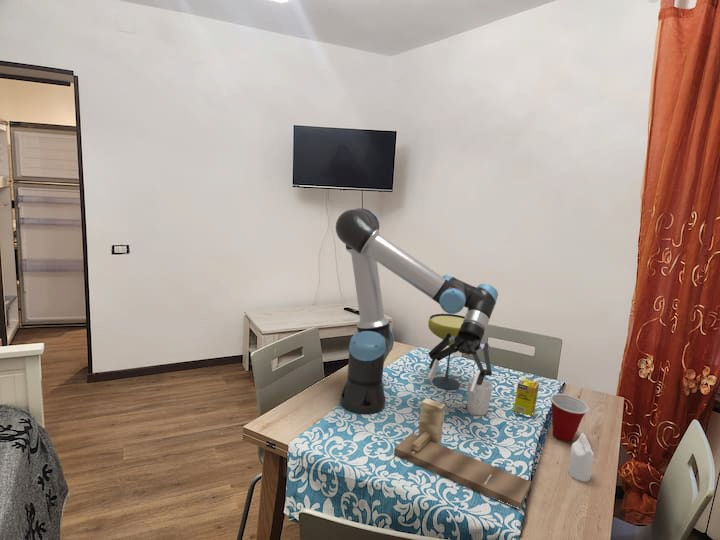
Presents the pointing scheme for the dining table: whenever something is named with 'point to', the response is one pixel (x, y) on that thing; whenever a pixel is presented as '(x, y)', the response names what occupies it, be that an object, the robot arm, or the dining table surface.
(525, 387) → the supplement box
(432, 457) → the walnut board
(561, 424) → the plastic cup
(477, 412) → the white cup
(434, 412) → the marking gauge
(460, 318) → the cocktail glass
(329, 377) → the dining table surface
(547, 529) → the dining table surface
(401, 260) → the robot arm
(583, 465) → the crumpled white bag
